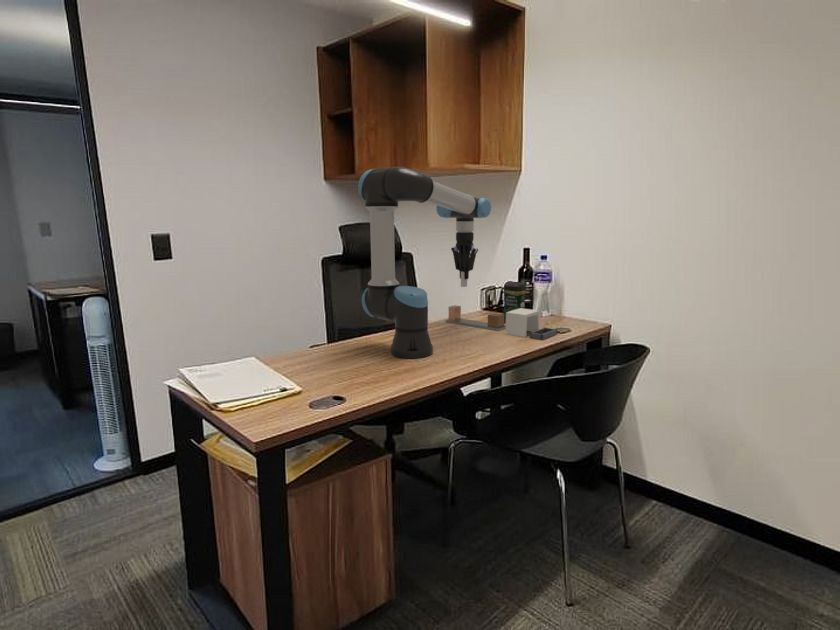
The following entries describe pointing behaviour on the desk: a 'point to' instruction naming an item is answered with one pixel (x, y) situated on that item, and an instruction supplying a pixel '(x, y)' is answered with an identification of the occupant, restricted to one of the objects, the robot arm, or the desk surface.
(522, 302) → the coffee jar
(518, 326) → the tunnel
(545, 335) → the tray
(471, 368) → the desk surface
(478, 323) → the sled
